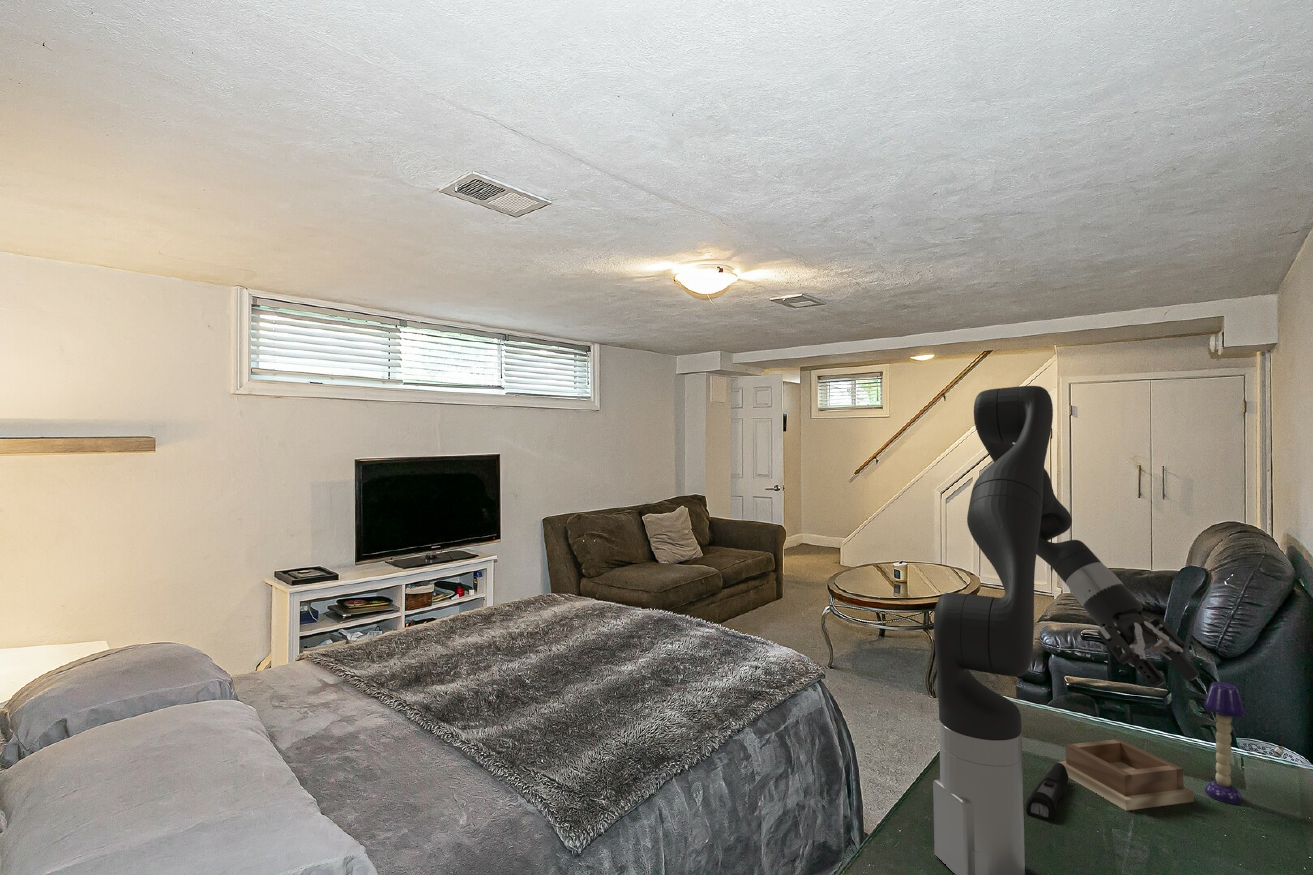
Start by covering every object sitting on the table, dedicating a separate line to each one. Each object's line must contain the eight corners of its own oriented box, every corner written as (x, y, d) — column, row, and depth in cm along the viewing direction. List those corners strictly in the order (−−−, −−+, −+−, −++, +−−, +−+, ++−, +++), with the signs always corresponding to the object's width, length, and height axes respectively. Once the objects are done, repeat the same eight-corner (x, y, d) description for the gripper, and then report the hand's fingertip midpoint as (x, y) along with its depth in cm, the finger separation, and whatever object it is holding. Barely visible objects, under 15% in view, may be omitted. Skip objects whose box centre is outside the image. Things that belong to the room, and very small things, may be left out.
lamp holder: (1125, 810, 92) (1125, 778, 92) (1058, 771, 104) (1057, 742, 104) (1193, 801, 94) (1192, 770, 95) (1120, 764, 106) (1119, 736, 106)
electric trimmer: (1075, 785, 100) (1074, 765, 100) (1054, 826, 89) (1053, 802, 89) (1047, 778, 103) (1047, 757, 103) (1024, 816, 91) (1023, 793, 91)
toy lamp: (1231, 790, 98) (1227, 679, 98) (1257, 806, 93) (1252, 689, 94) (1197, 788, 98) (1193, 678, 99) (1221, 804, 94) (1217, 688, 94)
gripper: (1089, 585, 108) (1167, 675, 97) (1144, 579, 113) (1224, 664, 102) (1060, 610, 113) (1131, 698, 101) (1114, 603, 118) (1187, 687, 107)
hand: (1177, 681), depth 102 cm, fingers open, 8 cm apart
